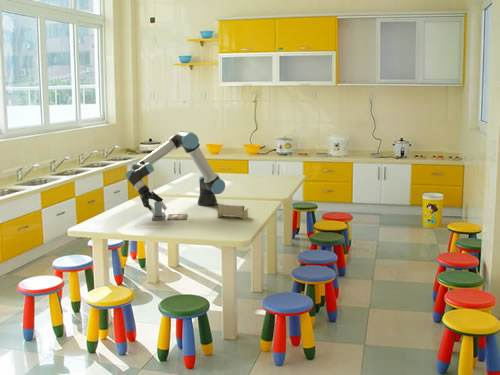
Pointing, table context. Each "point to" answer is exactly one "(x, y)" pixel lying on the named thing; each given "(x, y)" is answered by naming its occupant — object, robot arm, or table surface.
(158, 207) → the brick
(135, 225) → the table surface
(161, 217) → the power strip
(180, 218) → the walnut pad
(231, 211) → the toy sofa
